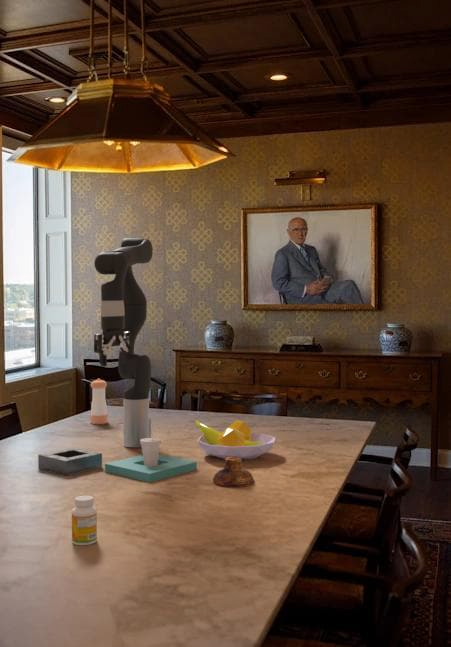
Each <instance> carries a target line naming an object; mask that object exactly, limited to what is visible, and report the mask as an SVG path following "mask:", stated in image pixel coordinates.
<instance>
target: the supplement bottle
mask: <svg viewBox="0 0 451 647" xmlns="http://www.w3.org/2000/svg"><path fill="white" fill-rule="evenodd" d="M94 502H95V501H94V496H92V495H79V496H76V497H75V498H74V506H75V507H73V508H72V510H71V542H72V544H73V545H76V546H80V547H81V546H82V547H83V546H90V545H93V544H95V543H96V542H97V541H98V518H97V517H98V516H97V514H98V513H97V512H98V510H97V508H96V506H94Z"/></svg>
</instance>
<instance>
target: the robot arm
mask: <svg viewBox="0 0 451 647" xmlns="http://www.w3.org/2000/svg"><path fill="white" fill-rule="evenodd" d="M153 248H154V247H153V244H152V242H151V240H149V239H148V238H144V237H125V238H123V239H122V240H121V243H120V247H119V248H116V249H115V250H110V251H109V250H108V251H102V252H100V253H98V254H97V255H96V257H95V259H94V264H93V265H94V268H95V270H96V271H97V273H99V274H101V275H115V277H114V278H113V279H112V280H110V281H106V282H102V283H101V285H100V293H101V294H100V297H101V299H100V300H101V302H100V304H101V305H100V328H101V330H102V332H101V333H94V336H93V353H95V354H96V353H97V354H98V355H99V365H100V367H107V365H108V364H107V363H108V361H107V360H108V358H107V356H108V355H107V352H108V350H110V349H111V347H117V348H118V349H119V352H118V360H117V361H118V364H117V368H118V373H119V376H120V378H122V379H124V380H134V383H133V386H132V387H130V388H129V387H128V388H127V389H125V390H123V393H122V395H123V402H122V405H123V408H122V409H123V412H122V414H123V447H126V448H142V445H141V443H140V440H141V439H144V438H151V426H152V418H151V417H150V392H151V386H152V385H151V381H152V380H151V378H152V362H151V359H150V357H149V356H148V355H147V354H141V353H139V354H138V353H135V343H136V340H137V337H138V335H139V333H140V331H141V329H142V328H143V327H144V324H145V323H146V321H147V312H148V311H147V309H148V308H147V305H148V303H147V297H146V295H145V293H144V292H143V290H142V289H141V287H140V286H139V284H138V281H137V280H136V278H135V276H134V272H133V266H134V265H137V264H139V265H140V264H147V263H149V262H150V261H151V260H152V258H153V252H154V250H153Z"/></svg>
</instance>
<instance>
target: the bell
mask: <svg viewBox="0 0 451 647" xmlns="http://www.w3.org/2000/svg"><path fill="white" fill-rule="evenodd" d="M254 481H255V480H254V476H253V475H252V473H251V472H250V471H248V469H245V468H244V467H243V460H241V459H240V458H238V459H233V457H227V458H226V459H224V467H223V468H222V469H221V470H219V471H217V472H216V473H215V474H214V476H213V478H212V482H213V484H214V485H216V486H219V487H225V488H241V487H242V488H243V487H248V486H250V485H253V483H254Z"/></svg>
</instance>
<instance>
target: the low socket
mask: <svg viewBox="0 0 451 647" xmlns="http://www.w3.org/2000/svg"><path fill="white" fill-rule="evenodd" d="M197 466H198V463H197V461H196V460H191V459H190V460H189V459H186V458H180V457H176V456H170V455H165V454H161V453H159V455H158V464H157V465H156V466H152V467H149V466H144V461H143V454H142V455H141V454H140V455H136V456H132V457H129V458H123V459H120V460H119V459H118V460H114V461H109V462H107V463H104V472H105V473H109V474H113V475H114V474H115V475H118V476H122V477H126V478H131V479H134V480H139V481H142V482H146V483H152V482H156V481H159V480H163V479H167V478H171V477H174V476H178V475H182V474H185V473H189V472H193V471H197V468H198V467H197Z"/></svg>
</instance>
